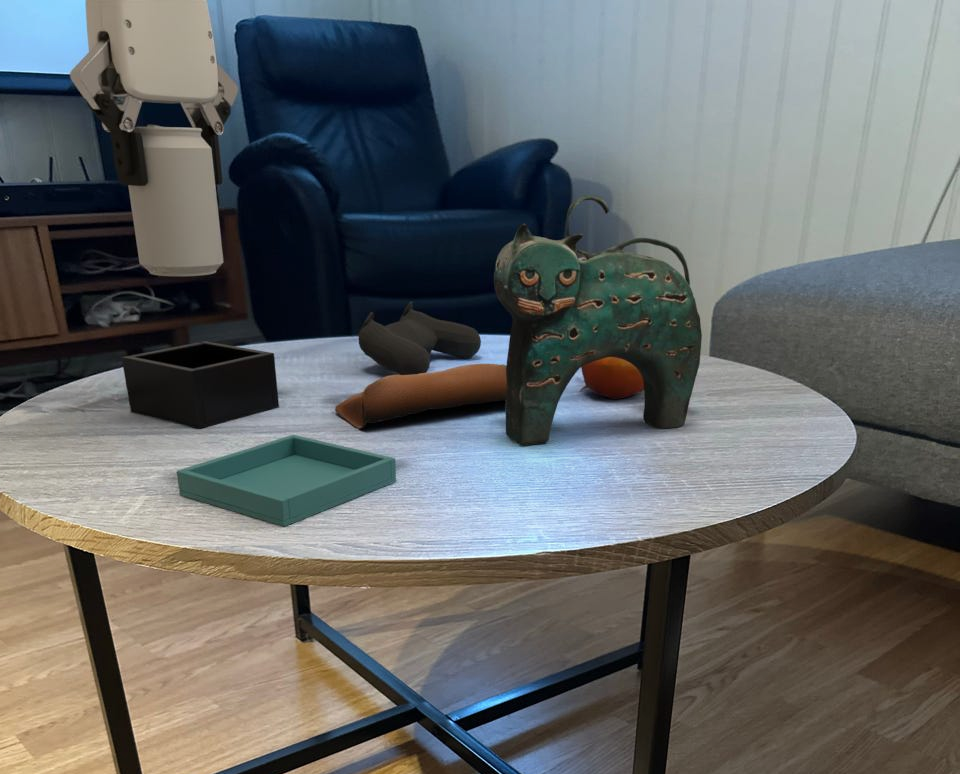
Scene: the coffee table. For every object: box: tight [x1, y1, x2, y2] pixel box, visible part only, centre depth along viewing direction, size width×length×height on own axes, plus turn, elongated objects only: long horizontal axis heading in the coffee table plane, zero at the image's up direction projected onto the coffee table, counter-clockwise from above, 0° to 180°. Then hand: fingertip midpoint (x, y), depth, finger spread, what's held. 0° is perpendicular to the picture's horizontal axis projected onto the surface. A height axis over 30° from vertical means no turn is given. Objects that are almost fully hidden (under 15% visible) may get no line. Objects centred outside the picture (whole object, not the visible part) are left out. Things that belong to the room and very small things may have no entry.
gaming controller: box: [358, 301, 482, 375], centre depth 111 cm, size 17×6×10 cm
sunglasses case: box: [334, 363, 507, 430], centre depth 92 cm, size 18×7×7 cm
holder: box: [121, 340, 280, 430], centre depth 92 cm, size 10×10×5 cm
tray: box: [176, 434, 397, 527], centre depth 72 cm, size 12×11×2 cm
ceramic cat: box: [493, 194, 703, 447], centre depth 82 cm, size 20×6×20 cm, turn 112°
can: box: [127, 124, 224, 277], centre depth 84 cm, size 8×8×12 cm
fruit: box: [579, 357, 644, 400], centre depth 99 cm, size 8×8×8 cm
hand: (172, 183), depth 83 cm, fingers closed on can, 7 cm apart
